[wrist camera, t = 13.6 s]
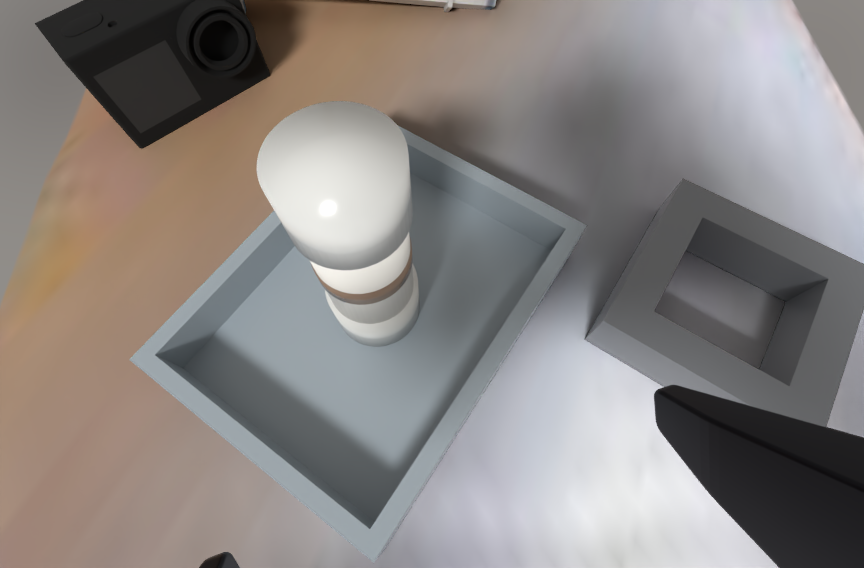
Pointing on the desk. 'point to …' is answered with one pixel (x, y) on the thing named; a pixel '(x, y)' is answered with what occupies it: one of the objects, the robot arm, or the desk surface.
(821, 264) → the socket block
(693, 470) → the robot arm
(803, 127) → the desk surface
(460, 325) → the tray
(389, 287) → the light bulb
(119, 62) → the digital camera
